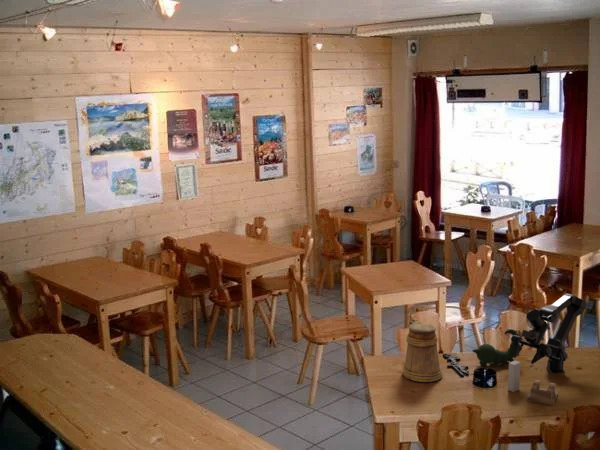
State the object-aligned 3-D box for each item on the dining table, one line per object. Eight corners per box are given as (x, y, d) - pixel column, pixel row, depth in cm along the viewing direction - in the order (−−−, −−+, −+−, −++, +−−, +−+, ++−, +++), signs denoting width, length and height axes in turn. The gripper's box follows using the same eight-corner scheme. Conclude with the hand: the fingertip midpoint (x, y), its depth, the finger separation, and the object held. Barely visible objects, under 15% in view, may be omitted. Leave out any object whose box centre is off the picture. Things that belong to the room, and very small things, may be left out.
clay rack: (532, 389, 325) (533, 378, 324) (557, 394, 319) (558, 383, 318) (527, 400, 314) (527, 388, 313) (553, 405, 309) (553, 393, 308)
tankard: (412, 385, 331) (413, 334, 326) (393, 366, 354) (393, 318, 349) (448, 380, 336) (449, 330, 331) (426, 362, 358) (427, 314, 353)
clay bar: (513, 387, 328) (514, 360, 325) (519, 389, 326) (520, 362, 323) (507, 389, 325) (508, 362, 323) (513, 392, 323) (514, 364, 320)
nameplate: (435, 354, 365) (454, 352, 367) (435, 357, 366) (454, 355, 367) (457, 375, 339) (477, 373, 341) (457, 378, 339) (477, 376, 341)
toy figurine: (511, 362, 361) (465, 363, 355) (516, 326, 358) (470, 326, 352) (521, 369, 352) (474, 370, 346) (526, 332, 349) (479, 332, 343)
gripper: (514, 318, 334) (498, 346, 329) (549, 328, 319) (534, 357, 315) (523, 330, 340) (508, 358, 336) (558, 341, 326) (543, 370, 321)
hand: (522, 360), depth 327 cm, fingers open, 9 cm apart
